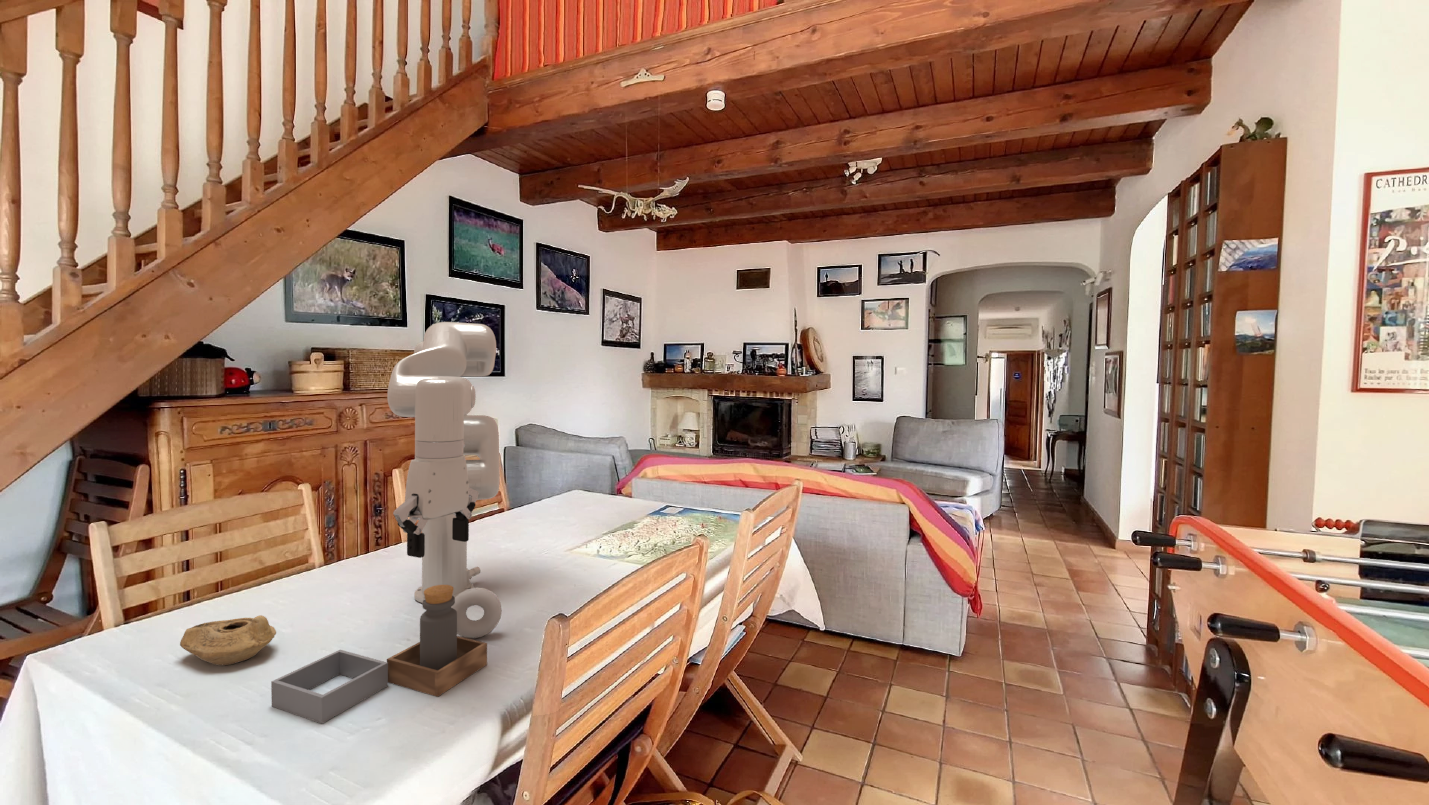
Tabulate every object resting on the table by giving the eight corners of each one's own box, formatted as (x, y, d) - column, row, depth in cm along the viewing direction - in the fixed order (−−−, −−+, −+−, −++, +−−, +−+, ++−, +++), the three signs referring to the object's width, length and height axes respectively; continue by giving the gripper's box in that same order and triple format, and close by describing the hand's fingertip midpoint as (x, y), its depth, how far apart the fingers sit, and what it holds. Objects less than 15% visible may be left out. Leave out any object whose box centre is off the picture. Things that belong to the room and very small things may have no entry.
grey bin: (340, 671, 100) (340, 649, 100) (387, 686, 96) (387, 662, 96) (271, 706, 90) (271, 681, 89) (322, 723, 86) (321, 697, 86)
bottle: (442, 684, 97) (442, 597, 96) (412, 679, 98) (412, 593, 98) (463, 667, 103) (464, 585, 102) (435, 662, 104) (435, 581, 103)
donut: (502, 631, 117) (502, 583, 117) (500, 639, 114) (501, 589, 113) (449, 635, 115) (449, 586, 114) (446, 643, 111) (446, 593, 111)
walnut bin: (439, 652, 108) (439, 631, 108) (486, 664, 104) (487, 643, 104) (386, 682, 97) (386, 659, 97) (437, 696, 94) (437, 673, 93)
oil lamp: (198, 647, 107) (197, 605, 107) (289, 641, 110) (289, 600, 110) (155, 678, 96) (154, 632, 96) (258, 670, 100) (257, 625, 99)
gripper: (460, 443, 108) (460, 532, 109) (378, 454, 92) (378, 560, 93) (492, 446, 105) (491, 537, 106) (414, 458, 89) (413, 566, 90)
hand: (439, 548), depth 99 cm, fingers open, 9 cm apart
